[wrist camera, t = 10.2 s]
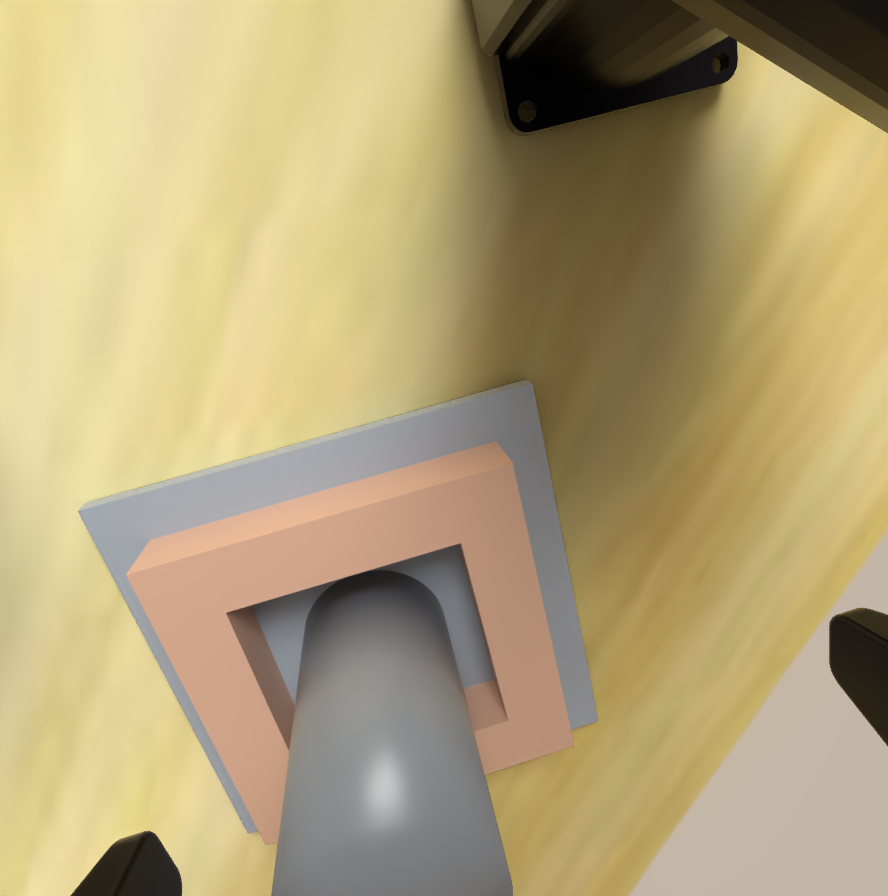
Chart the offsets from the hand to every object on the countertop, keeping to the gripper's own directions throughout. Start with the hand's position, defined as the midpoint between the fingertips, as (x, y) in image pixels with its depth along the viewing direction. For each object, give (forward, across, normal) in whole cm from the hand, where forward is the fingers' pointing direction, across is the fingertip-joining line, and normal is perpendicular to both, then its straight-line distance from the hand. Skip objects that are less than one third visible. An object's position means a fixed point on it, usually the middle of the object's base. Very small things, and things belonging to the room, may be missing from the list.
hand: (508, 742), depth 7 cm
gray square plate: (+12, +3, +6) cm, 14 cm away
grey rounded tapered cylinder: (+11, +3, +6) cm, 13 cm away
